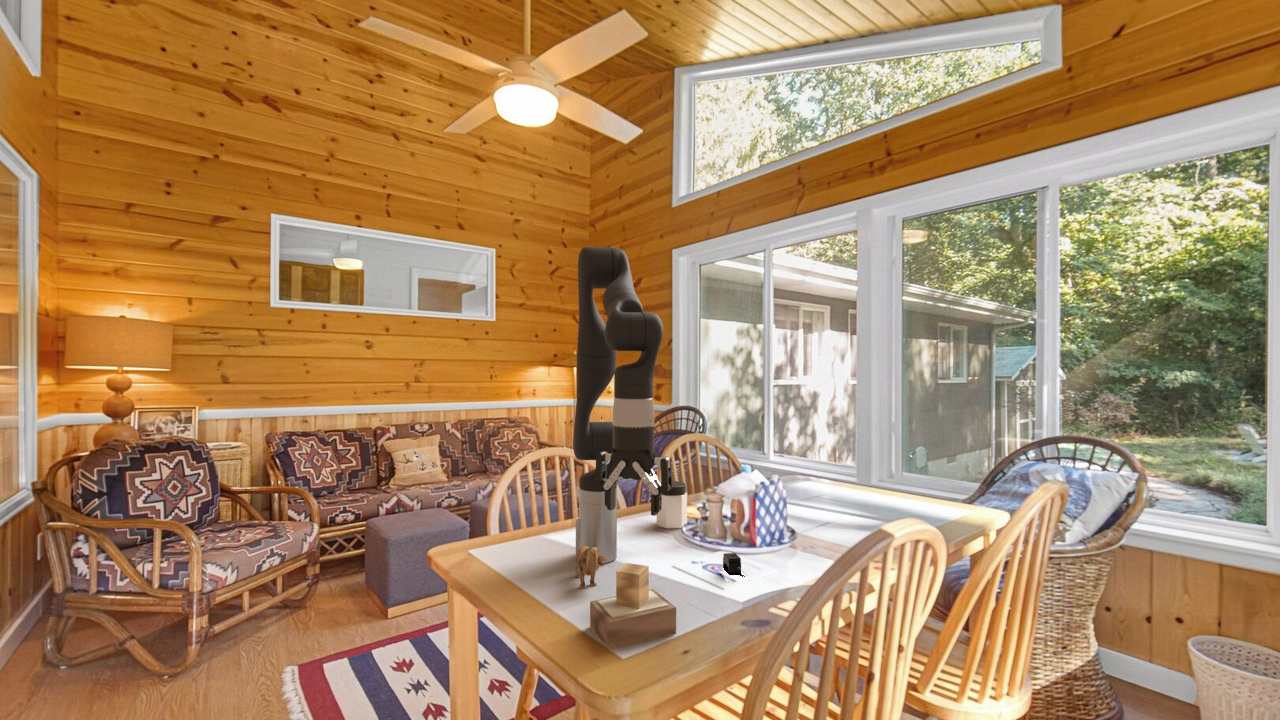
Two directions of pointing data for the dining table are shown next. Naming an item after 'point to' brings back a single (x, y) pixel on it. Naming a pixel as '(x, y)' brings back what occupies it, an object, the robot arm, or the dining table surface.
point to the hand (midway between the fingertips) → (632, 511)
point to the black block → (732, 564)
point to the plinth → (632, 620)
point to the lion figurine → (588, 564)
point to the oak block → (632, 585)
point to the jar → (673, 507)
